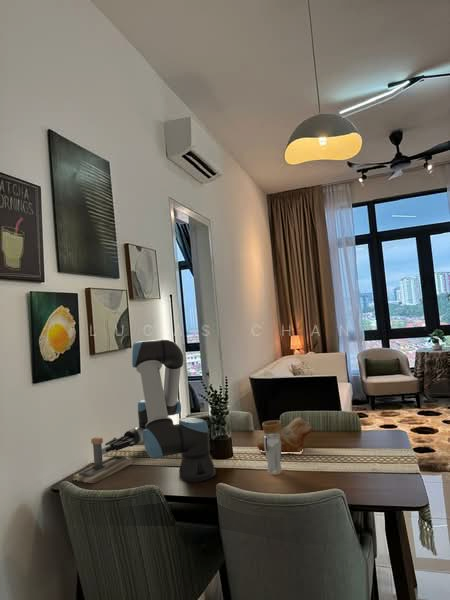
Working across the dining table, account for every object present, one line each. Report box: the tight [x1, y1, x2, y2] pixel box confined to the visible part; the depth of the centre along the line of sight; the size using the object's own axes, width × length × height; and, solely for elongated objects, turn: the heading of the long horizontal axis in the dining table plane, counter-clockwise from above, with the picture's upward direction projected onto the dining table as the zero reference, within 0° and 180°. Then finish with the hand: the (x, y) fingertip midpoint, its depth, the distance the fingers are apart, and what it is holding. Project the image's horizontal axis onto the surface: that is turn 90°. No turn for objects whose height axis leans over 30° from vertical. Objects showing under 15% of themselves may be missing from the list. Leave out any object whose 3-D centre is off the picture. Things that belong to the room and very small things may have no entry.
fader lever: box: [90, 437, 105, 470], centre depth 187 cm, size 5×2×13 cm, turn 62°
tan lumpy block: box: [256, 416, 313, 452], centre depth 199 cm, size 14×26×15 cm, turn 80°
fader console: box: [72, 454, 133, 484], centre depth 189 cm, size 12×24×3 cm, turn 152°
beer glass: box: [264, 433, 283, 473], centre depth 174 cm, size 7×7×15 cm
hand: (99, 452), depth 188 cm, fingers closed
